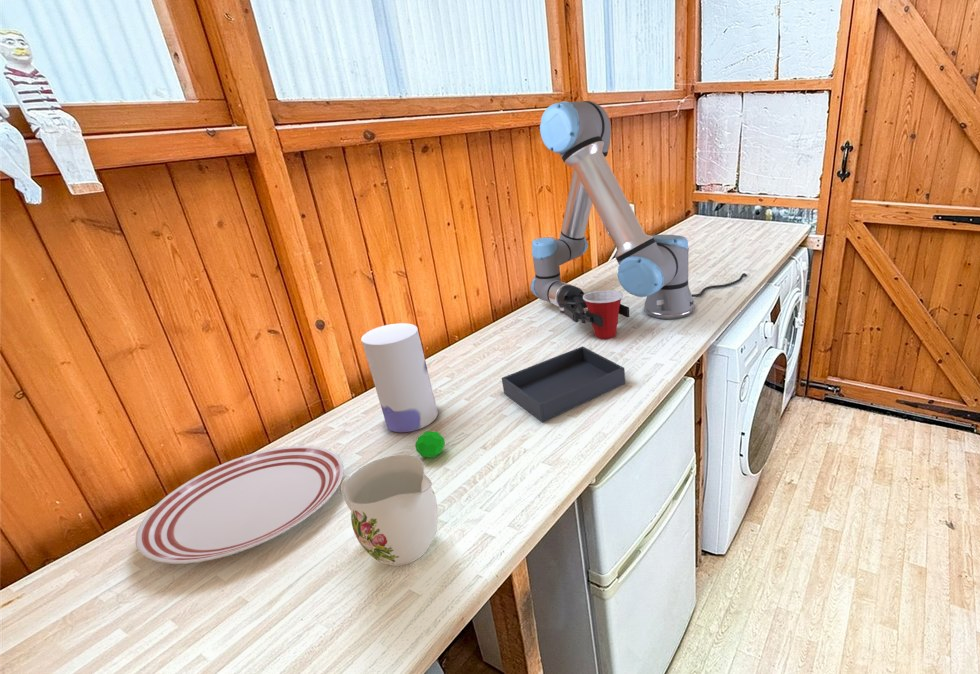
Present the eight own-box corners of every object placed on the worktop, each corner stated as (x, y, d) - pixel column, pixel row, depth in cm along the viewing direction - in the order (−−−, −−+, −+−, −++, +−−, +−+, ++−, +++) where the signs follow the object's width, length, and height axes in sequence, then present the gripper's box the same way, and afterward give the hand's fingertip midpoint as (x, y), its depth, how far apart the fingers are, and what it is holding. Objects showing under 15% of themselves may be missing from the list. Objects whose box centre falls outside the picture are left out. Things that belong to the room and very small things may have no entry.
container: (448, 410, 111) (428, 325, 103) (415, 436, 103) (390, 346, 95) (410, 403, 115) (388, 320, 106) (375, 428, 106) (348, 340, 98)
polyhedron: (430, 466, 94) (425, 444, 92) (412, 458, 97) (407, 437, 95) (452, 450, 98) (447, 430, 96) (434, 443, 101) (429, 423, 99)
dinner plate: (294, 441, 103) (289, 427, 101) (381, 485, 90) (376, 470, 89) (115, 535, 82) (104, 519, 80) (194, 610, 69) (184, 592, 67)
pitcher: (386, 506, 85) (364, 437, 80) (474, 535, 79) (457, 463, 73) (327, 556, 76) (296, 483, 70) (420, 594, 70) (396, 517, 64)
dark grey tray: (584, 360, 130) (582, 346, 129) (625, 383, 119) (624, 367, 118) (504, 393, 117) (501, 377, 115) (542, 422, 106) (539, 405, 104)
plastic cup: (628, 326, 148) (625, 287, 143) (622, 343, 139) (619, 301, 134) (590, 326, 150) (587, 287, 145) (582, 342, 140) (578, 301, 135)
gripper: (596, 299, 162) (645, 318, 146) (537, 318, 149) (584, 342, 133) (594, 276, 158) (644, 293, 143) (534, 294, 146) (581, 315, 130)
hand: (615, 317), depth 138 cm, fingers closed on plastic cup, 8 cm apart
